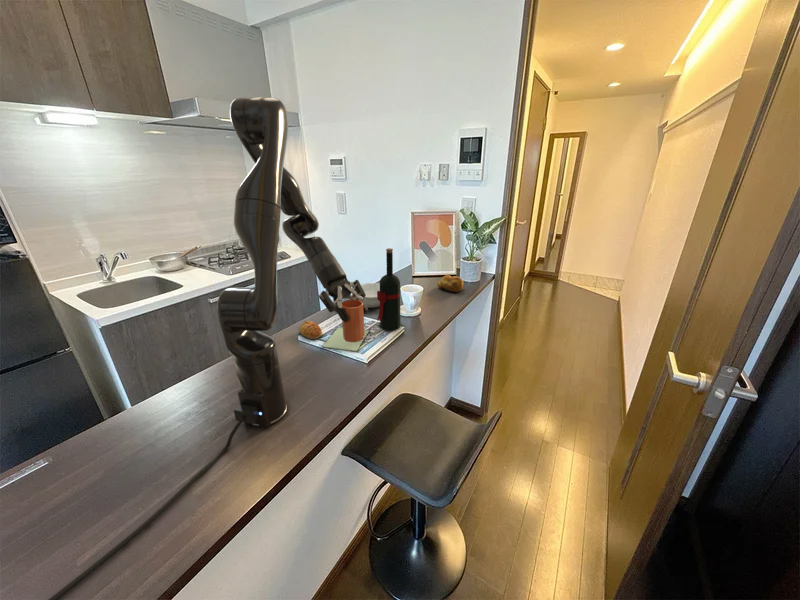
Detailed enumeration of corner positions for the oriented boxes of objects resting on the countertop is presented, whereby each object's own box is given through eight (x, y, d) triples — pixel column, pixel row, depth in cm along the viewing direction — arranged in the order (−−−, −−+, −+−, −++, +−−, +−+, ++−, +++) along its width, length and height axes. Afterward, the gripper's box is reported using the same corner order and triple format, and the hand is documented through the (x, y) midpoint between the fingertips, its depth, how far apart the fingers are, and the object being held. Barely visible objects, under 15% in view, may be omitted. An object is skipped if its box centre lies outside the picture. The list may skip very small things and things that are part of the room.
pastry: (327, 335, 117) (326, 326, 115) (310, 342, 113) (309, 332, 111) (313, 326, 123) (312, 317, 122) (297, 333, 119) (295, 323, 117)
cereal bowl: (377, 315, 132) (377, 299, 129) (345, 307, 140) (344, 292, 137) (398, 301, 146) (398, 286, 143) (368, 294, 153) (367, 280, 150)
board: (356, 351, 107) (356, 350, 107) (322, 347, 110) (322, 346, 110) (369, 331, 120) (369, 330, 120) (338, 328, 122) (338, 327, 122)
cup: (360, 343, 94) (358, 309, 90) (340, 341, 96) (337, 307, 91) (367, 333, 100) (365, 300, 96) (347, 331, 101) (345, 298, 97)
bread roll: (434, 289, 159) (434, 274, 156) (442, 283, 167) (443, 269, 163) (458, 295, 153) (459, 279, 149) (466, 288, 160) (467, 273, 157)
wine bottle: (371, 328, 122) (368, 250, 110) (389, 319, 129) (388, 245, 117) (386, 335, 117) (385, 254, 105) (404, 325, 124) (405, 248, 113)
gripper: (312, 268, 89) (343, 319, 86) (351, 257, 99) (380, 303, 97) (302, 282, 94) (331, 330, 92) (341, 270, 104) (368, 314, 102)
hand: (356, 316), depth 94 cm, fingers closed on cup, 6 cm apart
